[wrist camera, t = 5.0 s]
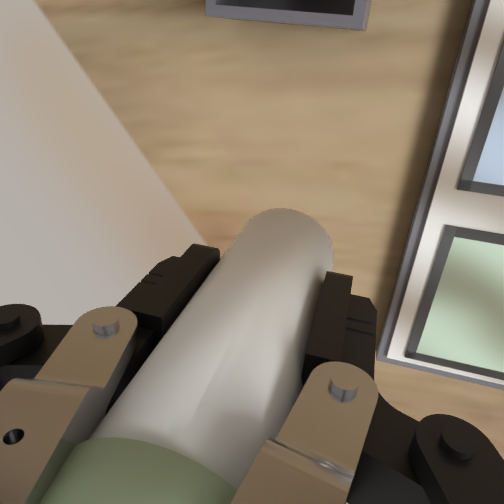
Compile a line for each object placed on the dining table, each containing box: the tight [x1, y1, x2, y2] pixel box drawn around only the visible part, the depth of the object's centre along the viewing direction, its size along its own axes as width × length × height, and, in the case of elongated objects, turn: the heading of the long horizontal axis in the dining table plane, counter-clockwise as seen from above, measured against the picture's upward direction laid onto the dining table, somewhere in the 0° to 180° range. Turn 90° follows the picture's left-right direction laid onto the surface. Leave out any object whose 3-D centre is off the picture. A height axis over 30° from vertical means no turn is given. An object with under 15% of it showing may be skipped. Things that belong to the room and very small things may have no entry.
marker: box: [39, 208, 334, 504], centre depth 9 cm, size 4×4×11 cm
